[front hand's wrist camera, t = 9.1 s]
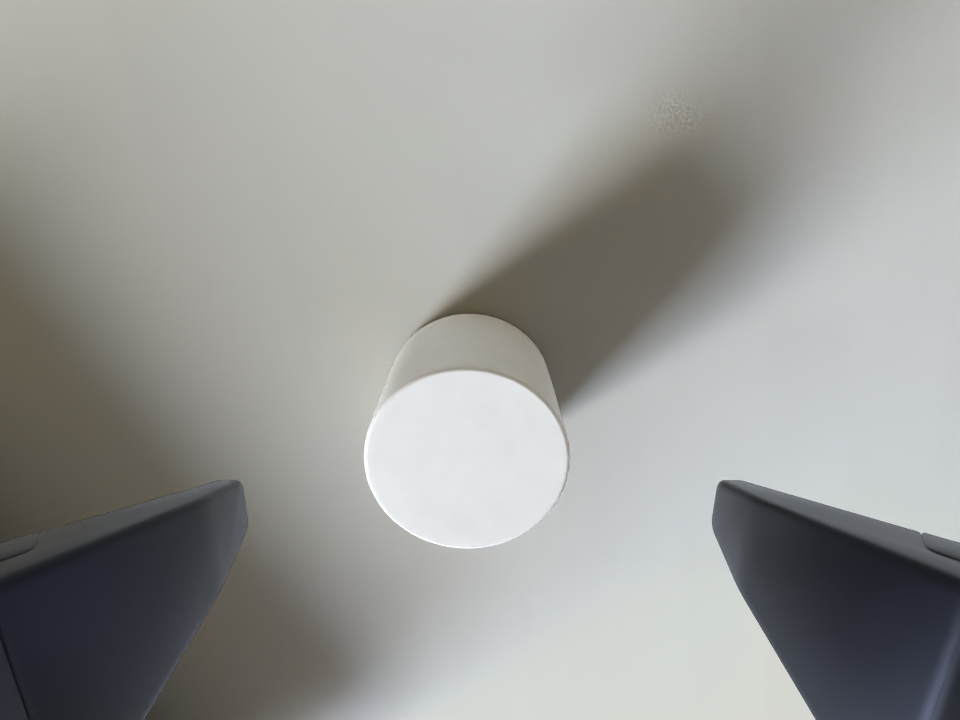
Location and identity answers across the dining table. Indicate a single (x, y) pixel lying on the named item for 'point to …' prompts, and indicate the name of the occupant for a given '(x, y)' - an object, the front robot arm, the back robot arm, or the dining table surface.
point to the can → (467, 435)
